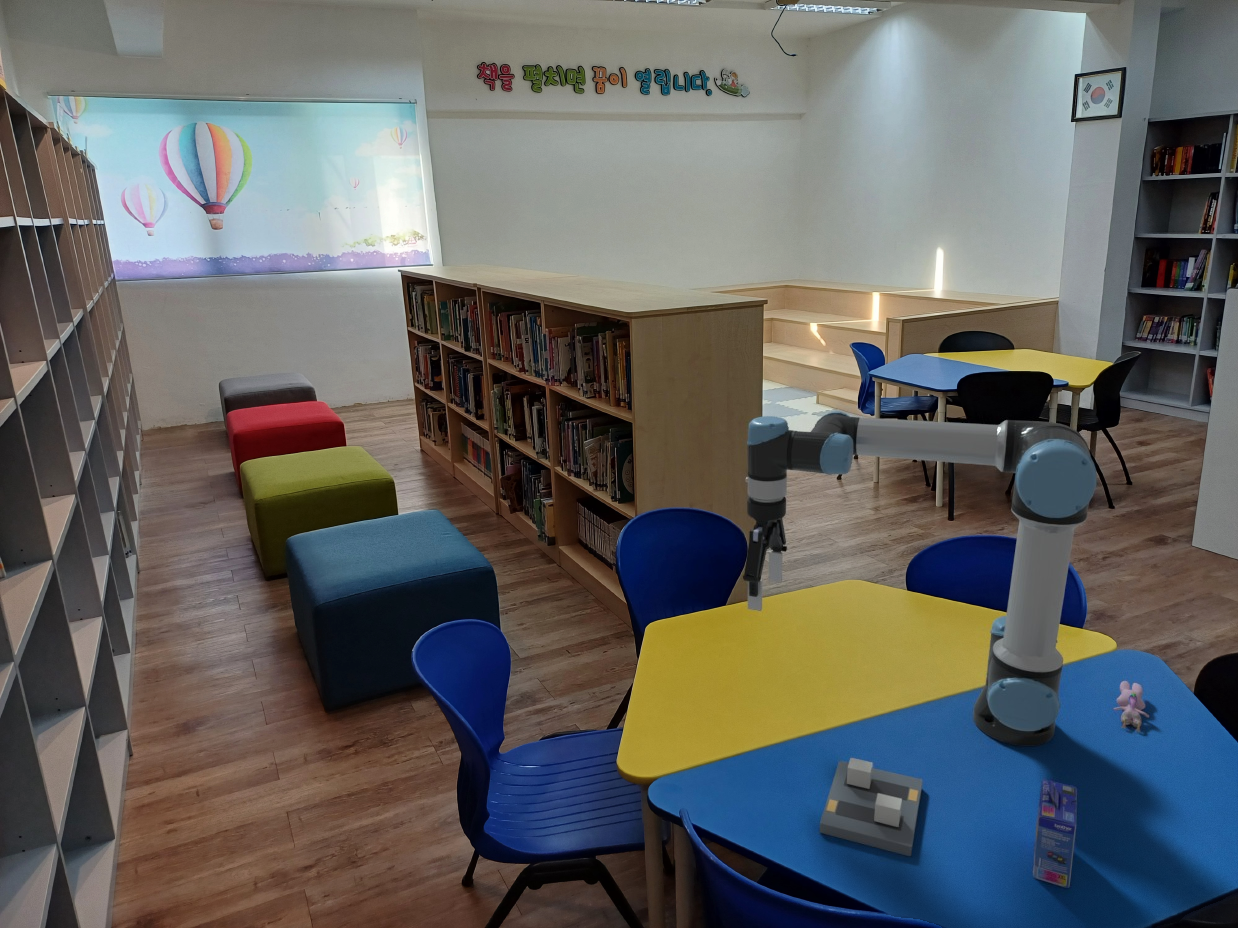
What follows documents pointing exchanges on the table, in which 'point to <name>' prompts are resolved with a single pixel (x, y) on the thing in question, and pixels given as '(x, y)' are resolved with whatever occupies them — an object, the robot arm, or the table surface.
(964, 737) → the table surface
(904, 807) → the switch bank
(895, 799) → the near tab
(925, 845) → the table surface
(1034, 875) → the ink cartridge box
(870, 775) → the far tab
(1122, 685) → the rabbit figure
